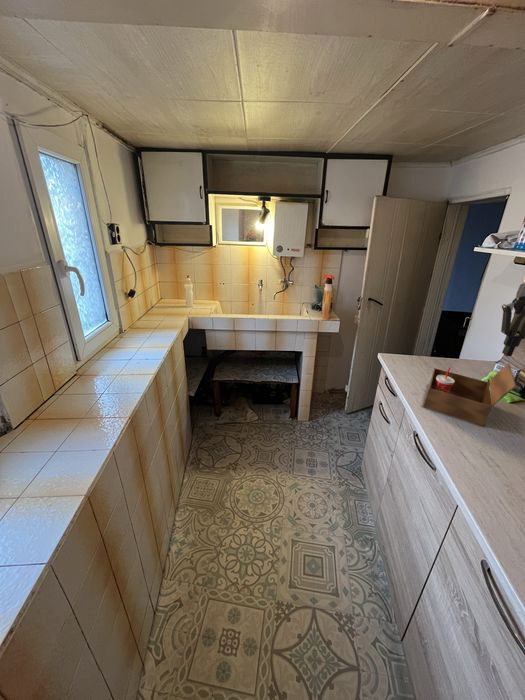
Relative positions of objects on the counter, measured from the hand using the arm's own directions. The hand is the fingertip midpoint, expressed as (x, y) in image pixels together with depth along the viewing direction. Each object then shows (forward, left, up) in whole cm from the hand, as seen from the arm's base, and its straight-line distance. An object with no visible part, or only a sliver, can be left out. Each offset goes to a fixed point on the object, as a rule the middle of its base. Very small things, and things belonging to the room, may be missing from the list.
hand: (506, 354), depth 96 cm
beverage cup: (+14, 0, -24) cm, 28 cm away
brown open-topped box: (+9, 0, -24) cm, 26 cm away
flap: (-2, 0, -11) cm, 11 cm away
